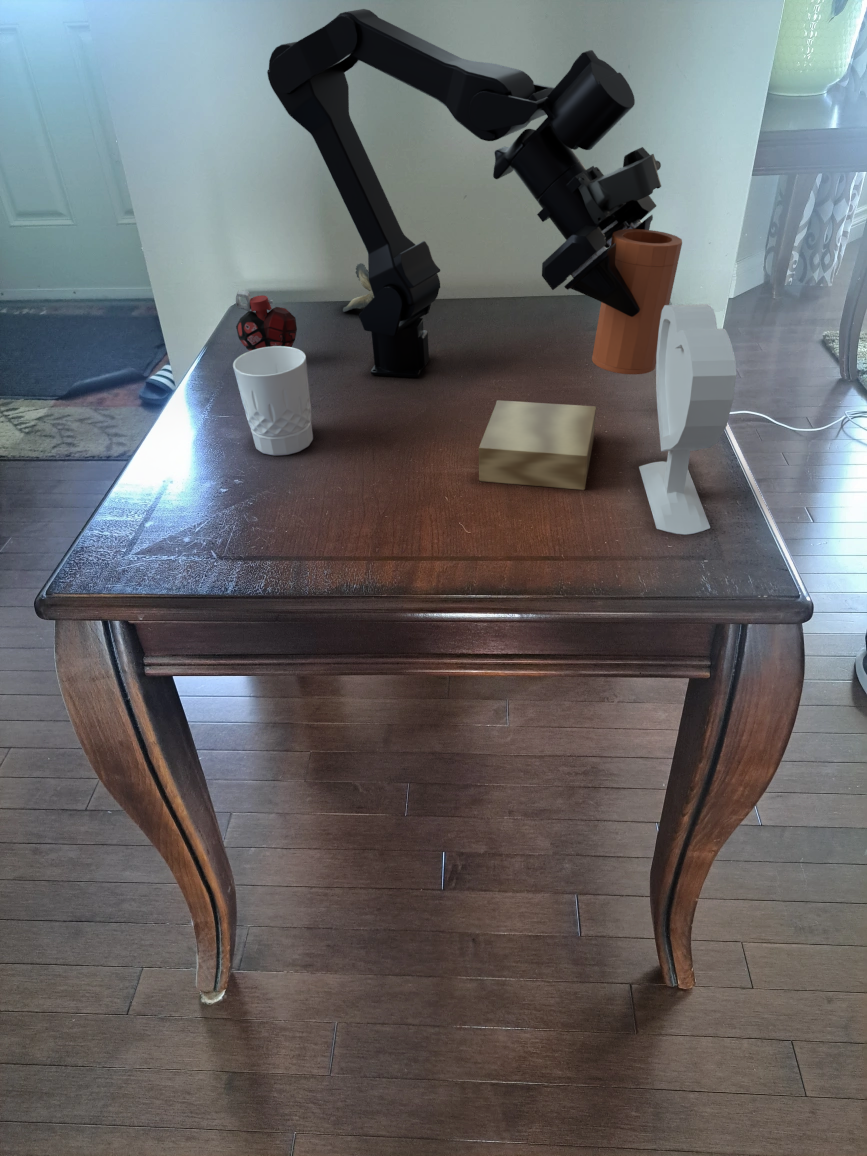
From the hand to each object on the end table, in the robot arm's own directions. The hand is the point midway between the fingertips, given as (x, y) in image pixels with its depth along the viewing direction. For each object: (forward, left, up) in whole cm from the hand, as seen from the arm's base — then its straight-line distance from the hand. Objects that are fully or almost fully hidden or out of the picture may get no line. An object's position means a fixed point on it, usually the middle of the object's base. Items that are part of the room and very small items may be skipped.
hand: (648, 302), depth 89 cm
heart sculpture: (+4, -17, -14) cm, 22 cm away
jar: (-2, 0, -7) cm, 7 cm away
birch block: (-10, -12, -13) cm, 20 cm away
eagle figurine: (-41, +30, -14) cm, 53 cm away
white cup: (-39, -12, -14) cm, 43 cm away
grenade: (-49, +9, -14) cm, 52 cm away
